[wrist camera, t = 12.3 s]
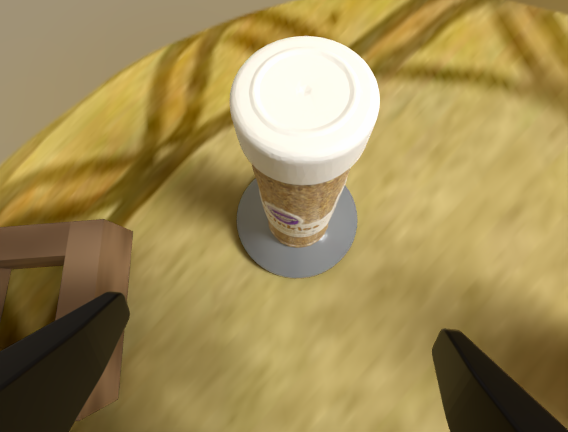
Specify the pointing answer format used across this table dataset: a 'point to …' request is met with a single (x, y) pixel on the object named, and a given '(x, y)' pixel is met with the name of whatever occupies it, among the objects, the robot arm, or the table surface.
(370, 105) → the sprinkles bottle
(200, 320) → the table surface
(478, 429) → the robot arm
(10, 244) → the walnut caddy
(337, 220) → the slate coaster
